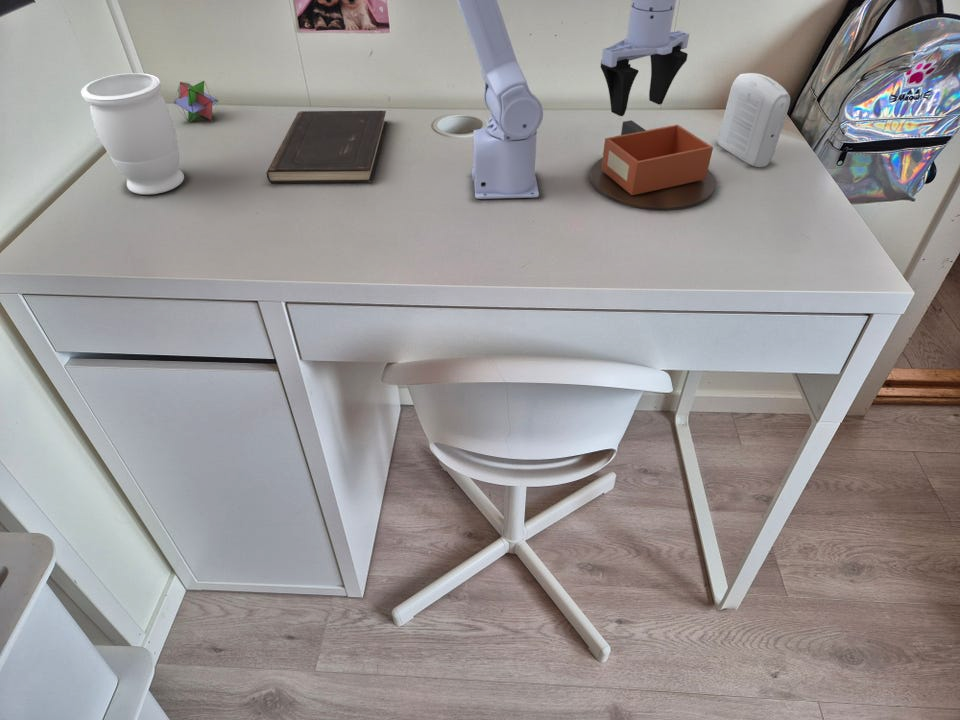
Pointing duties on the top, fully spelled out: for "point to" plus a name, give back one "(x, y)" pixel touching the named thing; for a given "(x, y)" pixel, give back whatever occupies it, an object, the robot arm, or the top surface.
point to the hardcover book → (329, 148)
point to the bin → (655, 158)
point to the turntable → (654, 192)
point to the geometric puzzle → (195, 100)
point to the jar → (136, 130)
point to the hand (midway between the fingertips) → (636, 107)
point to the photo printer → (754, 118)
